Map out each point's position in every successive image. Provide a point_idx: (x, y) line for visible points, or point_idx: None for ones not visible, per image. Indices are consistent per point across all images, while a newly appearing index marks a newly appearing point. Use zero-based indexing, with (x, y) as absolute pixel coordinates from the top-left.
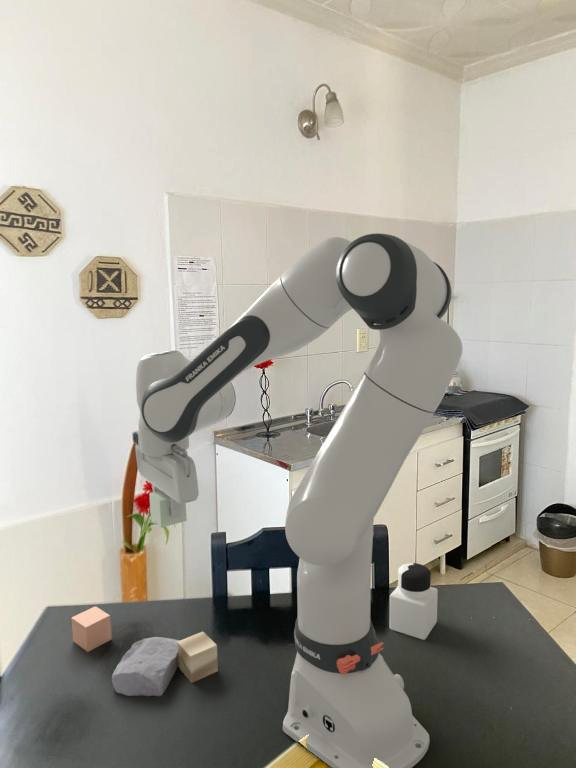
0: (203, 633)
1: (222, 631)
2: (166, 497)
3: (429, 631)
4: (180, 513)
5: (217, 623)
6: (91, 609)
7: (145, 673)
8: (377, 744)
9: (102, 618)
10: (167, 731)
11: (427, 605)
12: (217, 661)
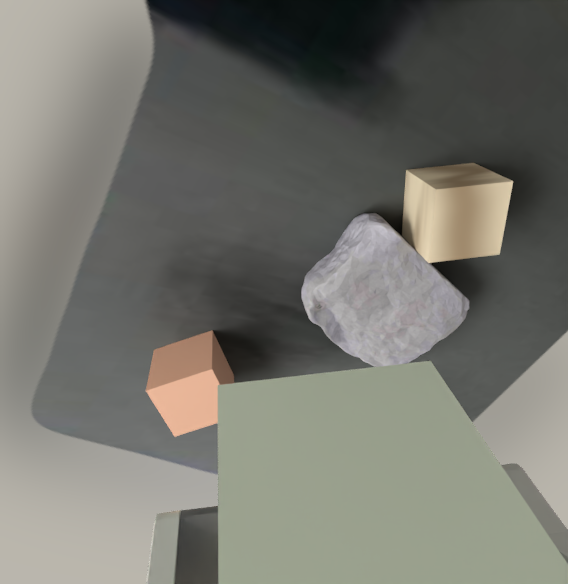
0: (446, 192)
1: (342, 74)
2: None
3: None
4: (532, 487)
5: (295, 68)
6: (158, 399)
7: (449, 333)
8: None
9: (217, 384)
10: (533, 302)
11: None
12: (487, 169)
